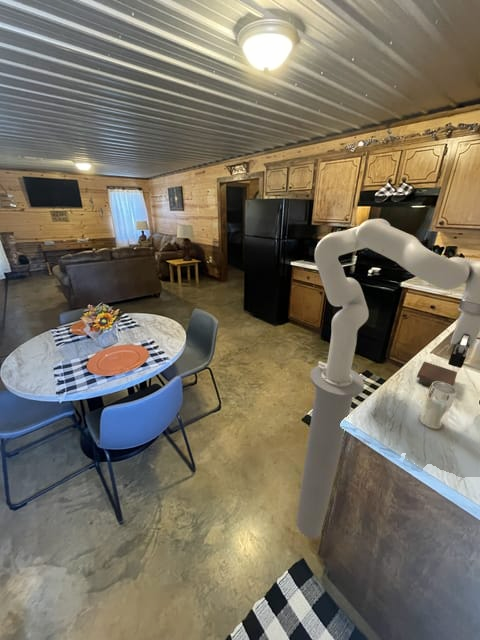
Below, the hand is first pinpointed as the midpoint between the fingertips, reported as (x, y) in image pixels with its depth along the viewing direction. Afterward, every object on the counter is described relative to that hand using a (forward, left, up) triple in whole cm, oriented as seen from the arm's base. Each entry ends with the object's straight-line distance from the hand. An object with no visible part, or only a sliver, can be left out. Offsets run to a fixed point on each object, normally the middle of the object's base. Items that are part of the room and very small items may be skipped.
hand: (456, 359), depth 80 cm
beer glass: (0, 0, -26) cm, 26 cm away
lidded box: (-3, +28, -26) cm, 38 cm away
